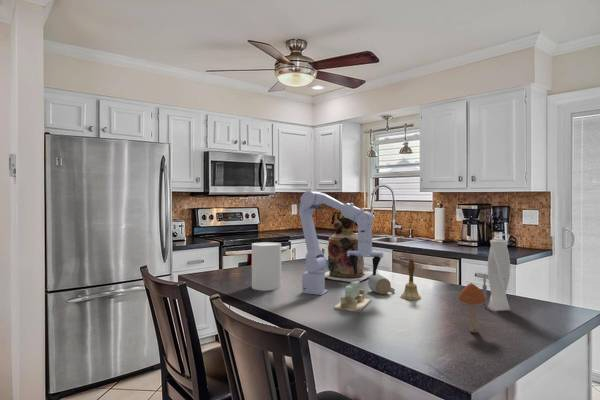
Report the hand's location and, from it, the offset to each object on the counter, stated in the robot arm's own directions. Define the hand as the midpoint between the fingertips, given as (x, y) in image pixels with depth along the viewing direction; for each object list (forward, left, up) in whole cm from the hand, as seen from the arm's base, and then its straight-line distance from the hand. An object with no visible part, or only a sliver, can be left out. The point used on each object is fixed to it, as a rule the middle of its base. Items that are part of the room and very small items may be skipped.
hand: (364, 274), depth 163 cm
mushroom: (+40, -26, -10) cm, 49 cm away
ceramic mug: (+4, +13, -10) cm, 17 cm away
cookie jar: (-20, +39, -10) cm, 45 cm away
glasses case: (-2, -11, -7) cm, 13 cm away
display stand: (-2, -11, -10) cm, 15 cm away
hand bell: (+17, +9, -10) cm, 22 cm away
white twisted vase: (+49, +5, -10) cm, 50 cm away
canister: (-47, +3, -10) cm, 48 cm away
